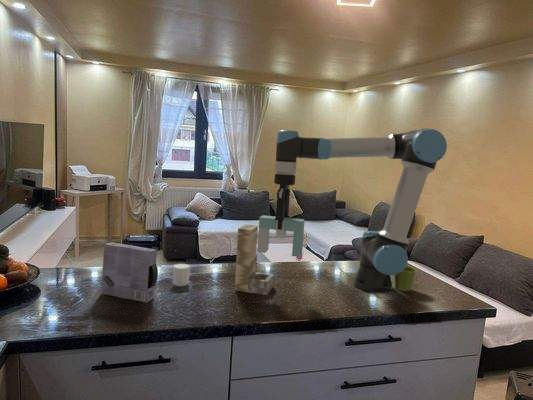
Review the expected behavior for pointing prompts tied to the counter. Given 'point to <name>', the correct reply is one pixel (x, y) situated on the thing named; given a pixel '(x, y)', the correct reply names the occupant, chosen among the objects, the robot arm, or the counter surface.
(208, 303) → the counter surface
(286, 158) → the robot arm
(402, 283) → the plant pot
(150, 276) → the cake pan box
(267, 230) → the rail
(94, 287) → the counter surface
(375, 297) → the counter surface
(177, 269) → the white cylinder
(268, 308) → the counter surface
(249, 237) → the post
